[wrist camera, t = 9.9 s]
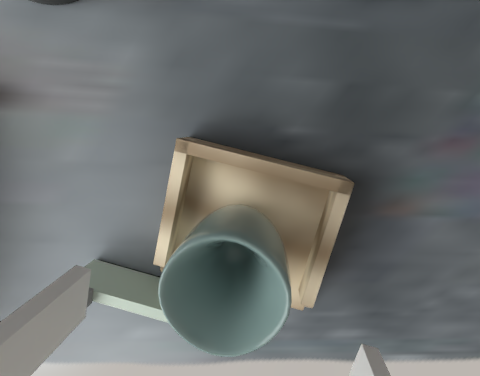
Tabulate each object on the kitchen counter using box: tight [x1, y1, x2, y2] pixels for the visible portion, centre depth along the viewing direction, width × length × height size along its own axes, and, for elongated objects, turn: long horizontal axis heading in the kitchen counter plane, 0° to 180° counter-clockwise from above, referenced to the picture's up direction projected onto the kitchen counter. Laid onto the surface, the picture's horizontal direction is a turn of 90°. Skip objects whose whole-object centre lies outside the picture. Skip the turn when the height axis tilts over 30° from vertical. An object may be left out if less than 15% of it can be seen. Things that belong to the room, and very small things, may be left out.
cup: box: [158, 204, 292, 357], centre depth 22 cm, size 8×8×10 cm
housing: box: [153, 137, 354, 311], centre depth 26 cm, size 13×14×4 cm
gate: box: [85, 259, 169, 323], centre depth 27 cm, size 1×12×6 cm, turn 77°
